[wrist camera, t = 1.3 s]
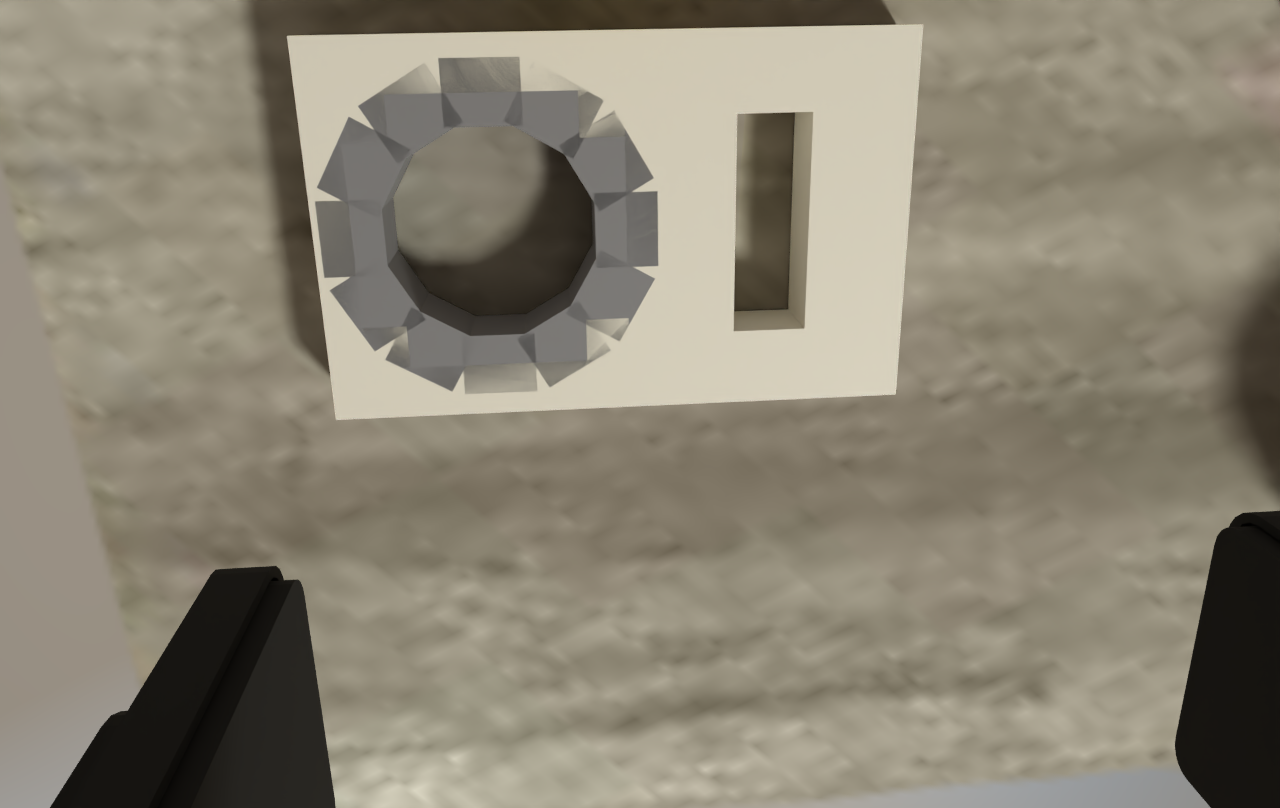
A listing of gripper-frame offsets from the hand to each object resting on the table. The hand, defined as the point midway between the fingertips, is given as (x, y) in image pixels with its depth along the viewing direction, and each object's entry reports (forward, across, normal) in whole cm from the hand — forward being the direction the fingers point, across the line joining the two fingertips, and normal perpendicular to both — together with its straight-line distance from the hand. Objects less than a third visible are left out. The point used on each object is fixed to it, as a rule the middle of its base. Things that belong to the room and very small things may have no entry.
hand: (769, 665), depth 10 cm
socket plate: (+26, 0, 0) cm, 26 cm away
